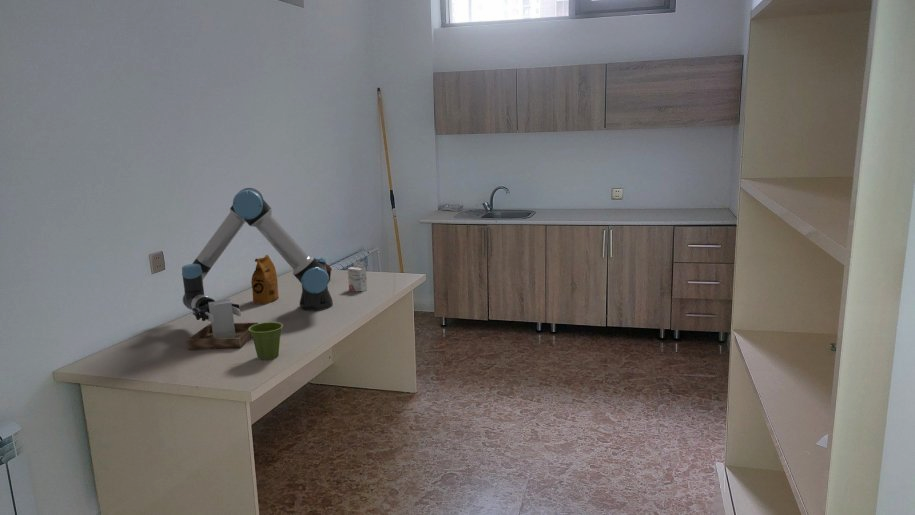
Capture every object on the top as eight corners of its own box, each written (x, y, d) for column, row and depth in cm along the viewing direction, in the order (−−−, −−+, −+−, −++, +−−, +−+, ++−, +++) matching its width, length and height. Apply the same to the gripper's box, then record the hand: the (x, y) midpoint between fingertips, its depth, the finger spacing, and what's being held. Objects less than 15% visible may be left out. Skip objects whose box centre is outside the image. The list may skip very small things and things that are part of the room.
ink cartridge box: (348, 290, 312) (346, 262, 309) (355, 288, 316) (353, 260, 313) (361, 292, 307) (359, 263, 304) (367, 289, 311) (365, 261, 308)
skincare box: (234, 334, 243) (230, 298, 240) (236, 338, 237) (232, 301, 234) (211, 337, 239) (207, 301, 236) (213, 342, 234) (209, 305, 231)
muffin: (327, 284, 326) (325, 266, 324) (308, 284, 328) (306, 266, 327) (335, 279, 338) (334, 261, 336) (317, 278, 340) (315, 261, 338)
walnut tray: (258, 331, 248) (258, 322, 247) (240, 348, 228) (239, 338, 228) (210, 332, 249) (209, 323, 248) (188, 349, 229) (186, 339, 228)
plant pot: (267, 364, 211) (263, 334, 209) (244, 359, 217) (241, 329, 215) (292, 354, 221) (290, 324, 219) (270, 349, 227) (267, 320, 225)
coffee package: (249, 303, 292) (245, 259, 288) (264, 297, 304) (260, 254, 299) (268, 304, 289) (263, 259, 285) (282, 297, 301) (277, 254, 297)
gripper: (231, 308, 257) (255, 318, 241) (177, 320, 243) (198, 332, 227) (229, 291, 256) (253, 300, 240) (174, 302, 241) (195, 312, 225)
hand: (226, 315), depth 233 cm, fingers open, 10 cm apart
